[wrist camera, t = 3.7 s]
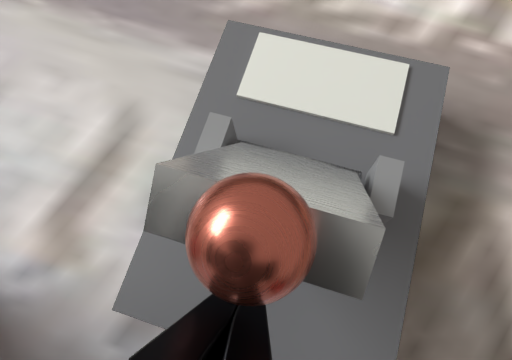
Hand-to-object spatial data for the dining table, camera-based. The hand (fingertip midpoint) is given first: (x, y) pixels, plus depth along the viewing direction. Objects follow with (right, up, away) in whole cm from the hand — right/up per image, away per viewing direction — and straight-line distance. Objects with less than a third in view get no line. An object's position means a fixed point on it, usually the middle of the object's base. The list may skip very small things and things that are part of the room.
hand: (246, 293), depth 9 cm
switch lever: (+2, +3, +7) cm, 8 cm away
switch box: (+2, +2, +12) cm, 12 cm away
